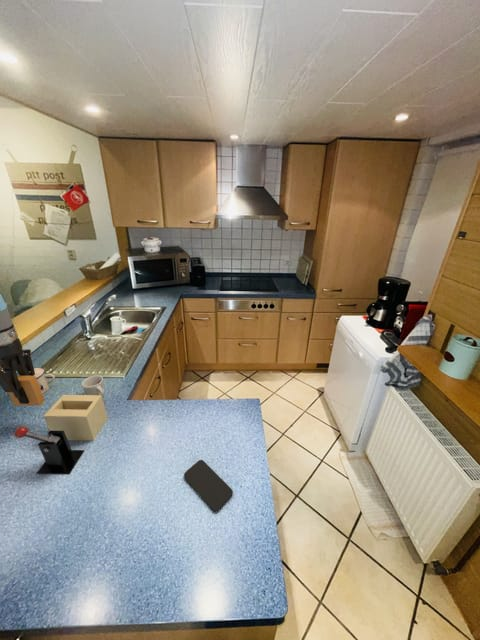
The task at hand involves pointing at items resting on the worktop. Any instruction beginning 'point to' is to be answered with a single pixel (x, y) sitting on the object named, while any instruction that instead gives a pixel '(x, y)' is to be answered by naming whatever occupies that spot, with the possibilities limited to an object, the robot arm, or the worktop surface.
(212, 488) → the phone
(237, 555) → the worktop surface
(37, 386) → the toast
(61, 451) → the toaster lever bracket
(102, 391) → the cup
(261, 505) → the worktop surface
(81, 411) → the toaster
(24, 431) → the lever
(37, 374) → the teacup with lid
